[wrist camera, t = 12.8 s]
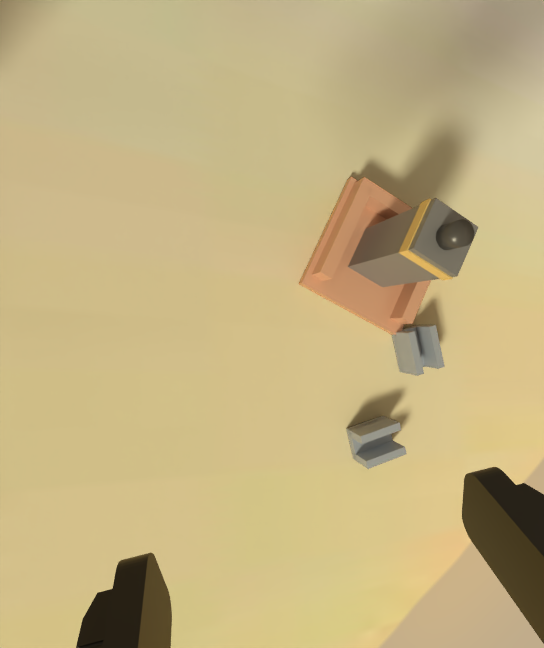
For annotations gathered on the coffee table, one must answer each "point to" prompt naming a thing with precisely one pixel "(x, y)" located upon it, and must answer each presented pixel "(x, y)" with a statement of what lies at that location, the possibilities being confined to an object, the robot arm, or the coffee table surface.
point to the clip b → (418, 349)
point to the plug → (414, 246)
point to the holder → (336, 253)
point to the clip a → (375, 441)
